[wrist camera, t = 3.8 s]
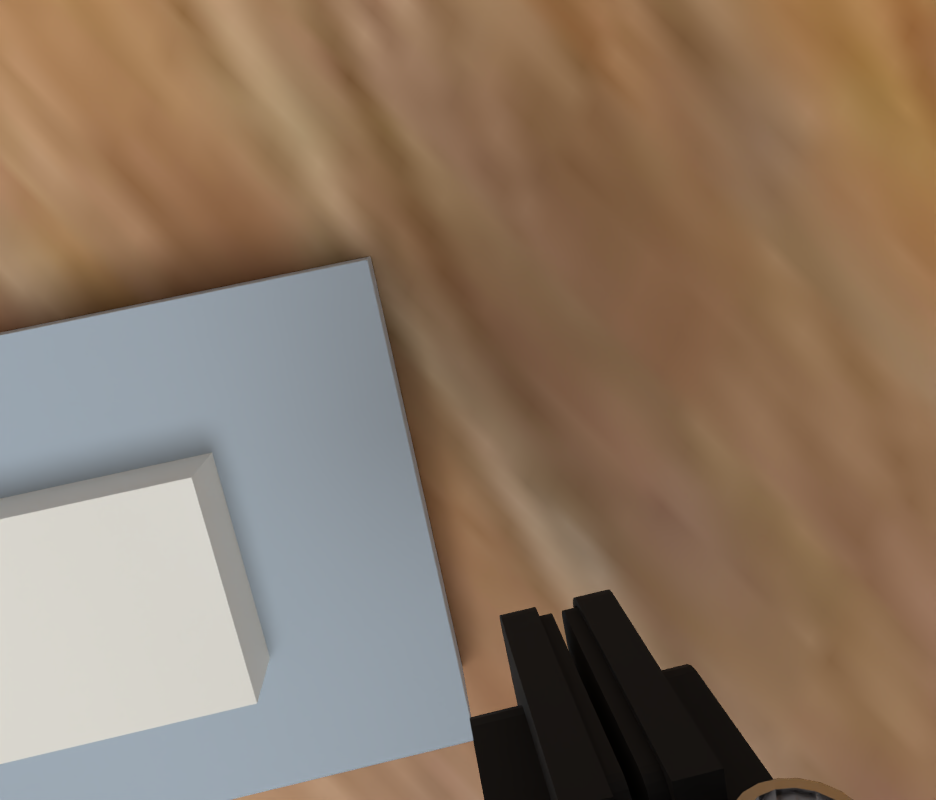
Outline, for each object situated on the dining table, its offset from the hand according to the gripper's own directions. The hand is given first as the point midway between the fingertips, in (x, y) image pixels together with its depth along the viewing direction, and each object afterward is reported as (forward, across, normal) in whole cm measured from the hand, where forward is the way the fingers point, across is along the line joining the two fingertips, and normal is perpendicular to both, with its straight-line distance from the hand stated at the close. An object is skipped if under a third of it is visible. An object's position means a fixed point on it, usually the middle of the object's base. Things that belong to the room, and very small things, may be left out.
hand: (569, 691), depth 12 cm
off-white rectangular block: (+10, +11, +1) cm, 15 cm away
